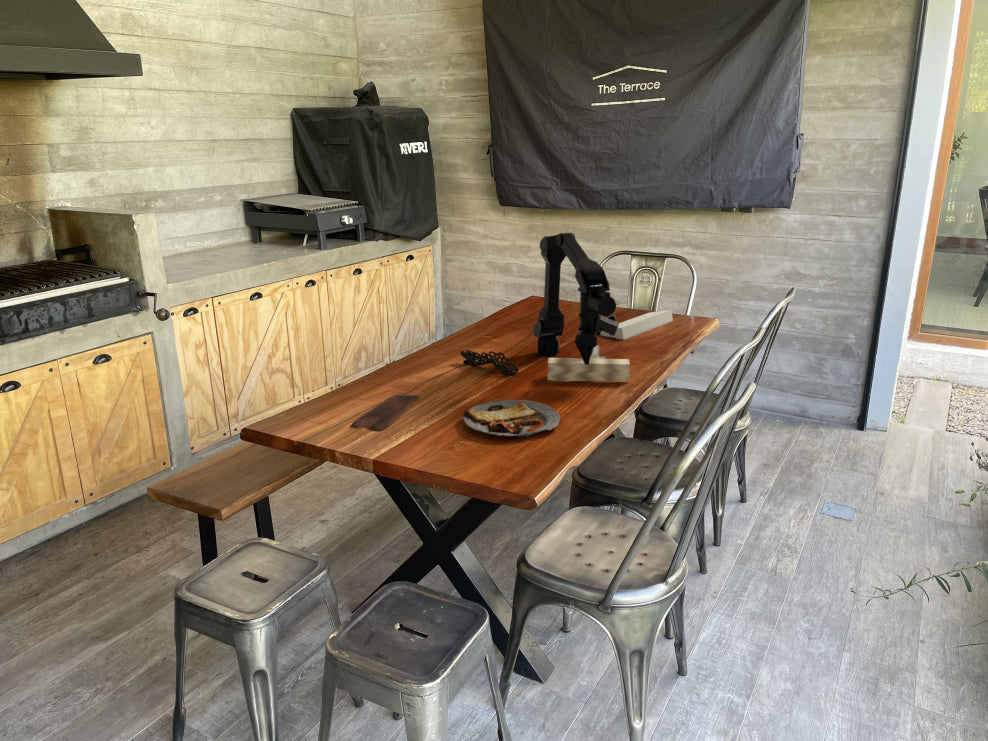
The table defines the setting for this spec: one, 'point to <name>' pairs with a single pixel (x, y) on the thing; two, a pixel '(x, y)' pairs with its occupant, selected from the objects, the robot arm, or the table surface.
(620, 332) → the decorative molding
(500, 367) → the decorative element
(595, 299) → the robot arm
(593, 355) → the ridge
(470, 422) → the food plate
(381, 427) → the wooden tablet
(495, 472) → the table surface
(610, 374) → the maple beam
